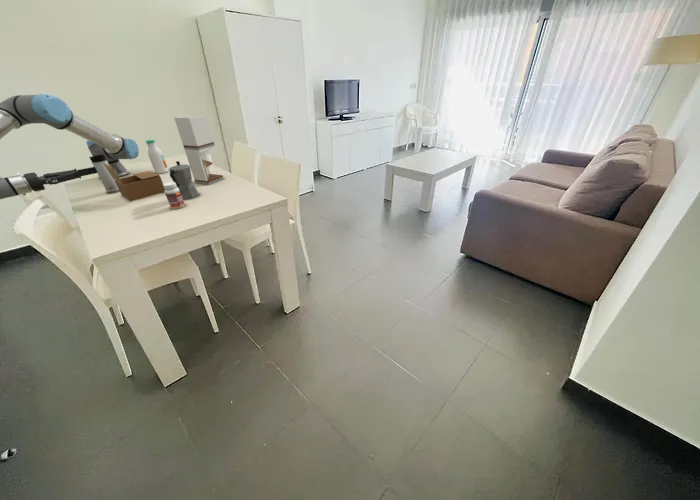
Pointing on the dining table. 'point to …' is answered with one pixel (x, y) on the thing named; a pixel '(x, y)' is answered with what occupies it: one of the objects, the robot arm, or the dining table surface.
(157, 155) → the milk bottle
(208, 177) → the drip coffee maker
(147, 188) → the carton
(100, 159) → the travel mug
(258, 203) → the dining table surface
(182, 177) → the coffeepot
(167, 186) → the pill bottle
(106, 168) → the flap
